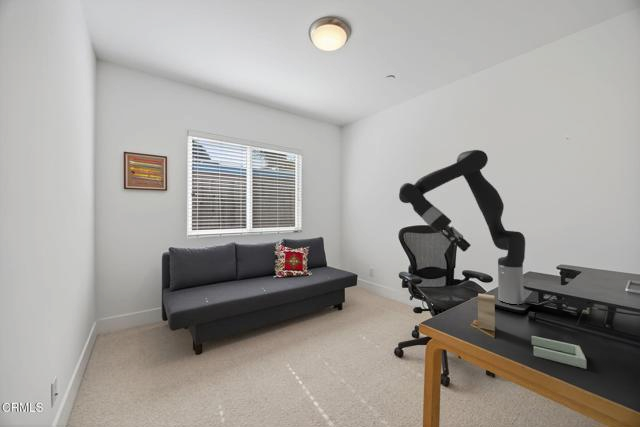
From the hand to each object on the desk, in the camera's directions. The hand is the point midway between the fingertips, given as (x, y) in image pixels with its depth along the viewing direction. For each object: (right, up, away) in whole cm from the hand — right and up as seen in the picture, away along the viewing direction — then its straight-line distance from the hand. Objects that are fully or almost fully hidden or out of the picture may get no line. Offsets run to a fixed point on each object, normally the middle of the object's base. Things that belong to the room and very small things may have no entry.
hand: (467, 248), depth 99 cm
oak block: (+3, -28, -7) cm, 29 cm away
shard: (+4, -30, -7) cm, 31 cm away
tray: (+13, -29, -23) cm, 39 cm away
